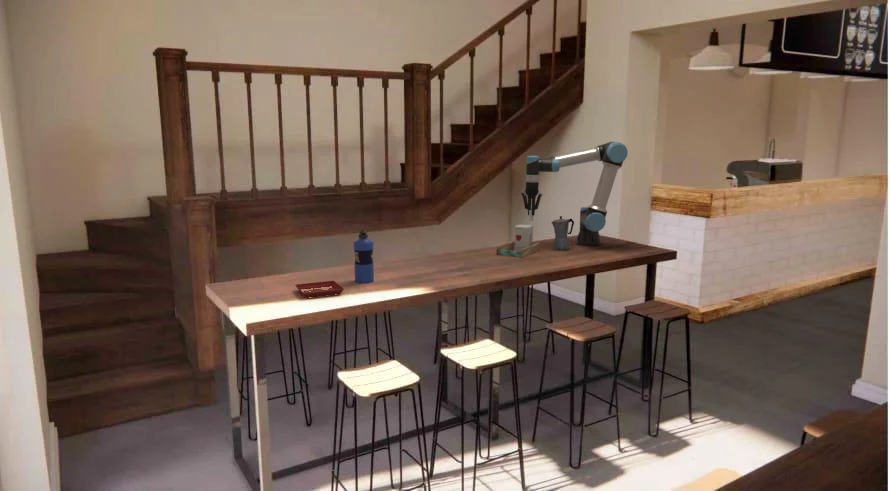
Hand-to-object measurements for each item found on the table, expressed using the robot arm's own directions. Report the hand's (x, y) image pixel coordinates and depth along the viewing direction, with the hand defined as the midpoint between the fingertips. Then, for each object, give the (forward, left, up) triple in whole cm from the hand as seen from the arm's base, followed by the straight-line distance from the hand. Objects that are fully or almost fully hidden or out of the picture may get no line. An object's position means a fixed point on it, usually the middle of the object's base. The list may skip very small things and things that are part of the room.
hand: (530, 220), depth 384 cm
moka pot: (-18, -5, -17) cm, 25 cm away
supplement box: (0, +11, -17) cm, 20 cm away
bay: (0, +18, -16) cm, 24 cm away
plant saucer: (+38, +146, -17) cm, 152 cm away
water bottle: (+34, +119, -17) cm, 125 cm away
